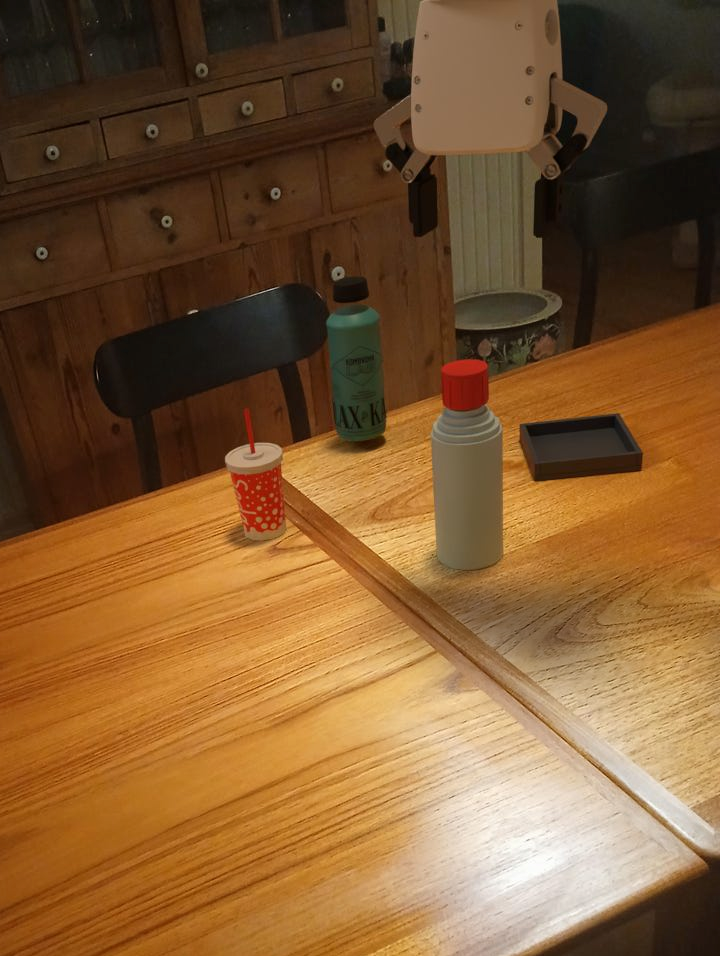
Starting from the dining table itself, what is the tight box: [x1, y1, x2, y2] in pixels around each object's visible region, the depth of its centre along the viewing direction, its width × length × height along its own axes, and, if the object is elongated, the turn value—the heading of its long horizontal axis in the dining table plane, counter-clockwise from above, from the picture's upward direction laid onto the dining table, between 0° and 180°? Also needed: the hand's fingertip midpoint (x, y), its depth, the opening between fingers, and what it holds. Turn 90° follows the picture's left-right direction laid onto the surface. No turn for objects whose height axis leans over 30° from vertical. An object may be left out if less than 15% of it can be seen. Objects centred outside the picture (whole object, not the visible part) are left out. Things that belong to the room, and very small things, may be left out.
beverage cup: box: [224, 407, 287, 542], centre depth 104 cm, size 6×6×14 cm
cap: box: [440, 358, 490, 410], centre depth 87 cm, size 4×4×3 cm
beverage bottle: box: [325, 275, 388, 442], centre depth 118 cm, size 6×7×20 cm
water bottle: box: [430, 404, 504, 571], centre depth 92 cm, size 6×6×18 cm
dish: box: [519, 412, 644, 482], centre depth 111 cm, size 11×11×2 cm
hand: (483, 233), depth 76 cm, fingers open, 9 cm apart
